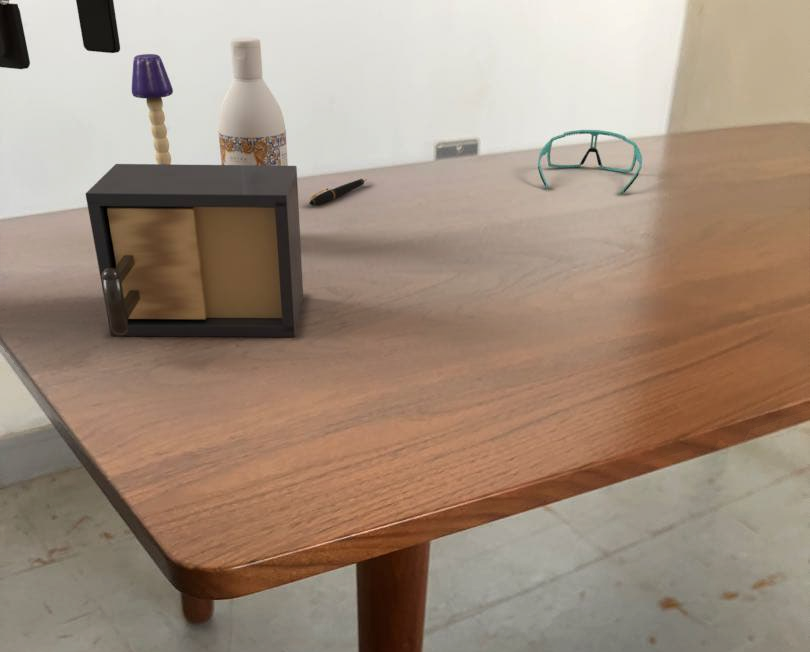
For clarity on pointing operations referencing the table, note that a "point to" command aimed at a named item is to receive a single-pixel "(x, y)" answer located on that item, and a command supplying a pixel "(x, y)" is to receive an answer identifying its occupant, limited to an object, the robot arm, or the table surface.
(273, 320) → the cupboard
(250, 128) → the bath foam
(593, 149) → the sunglasses
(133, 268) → the sliding door
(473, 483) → the table surface
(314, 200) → the fountain pen
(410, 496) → the table surface
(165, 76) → the toy lamp
